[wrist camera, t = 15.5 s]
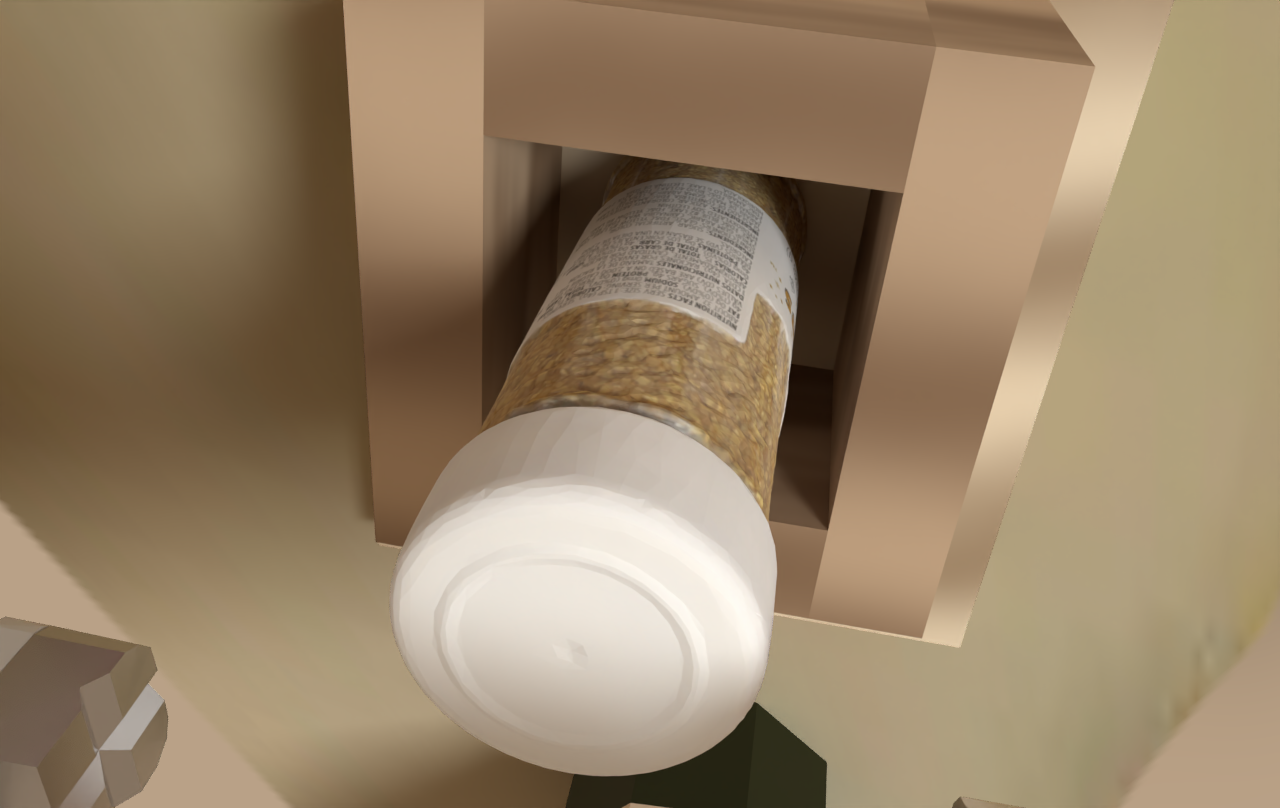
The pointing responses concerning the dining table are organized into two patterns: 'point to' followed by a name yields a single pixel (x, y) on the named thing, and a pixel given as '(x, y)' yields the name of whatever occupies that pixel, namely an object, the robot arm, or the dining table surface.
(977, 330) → the holder board
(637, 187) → the sprinkles bottle
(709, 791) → the wine bottle
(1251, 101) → the dining table surface
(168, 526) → the dining table surface
